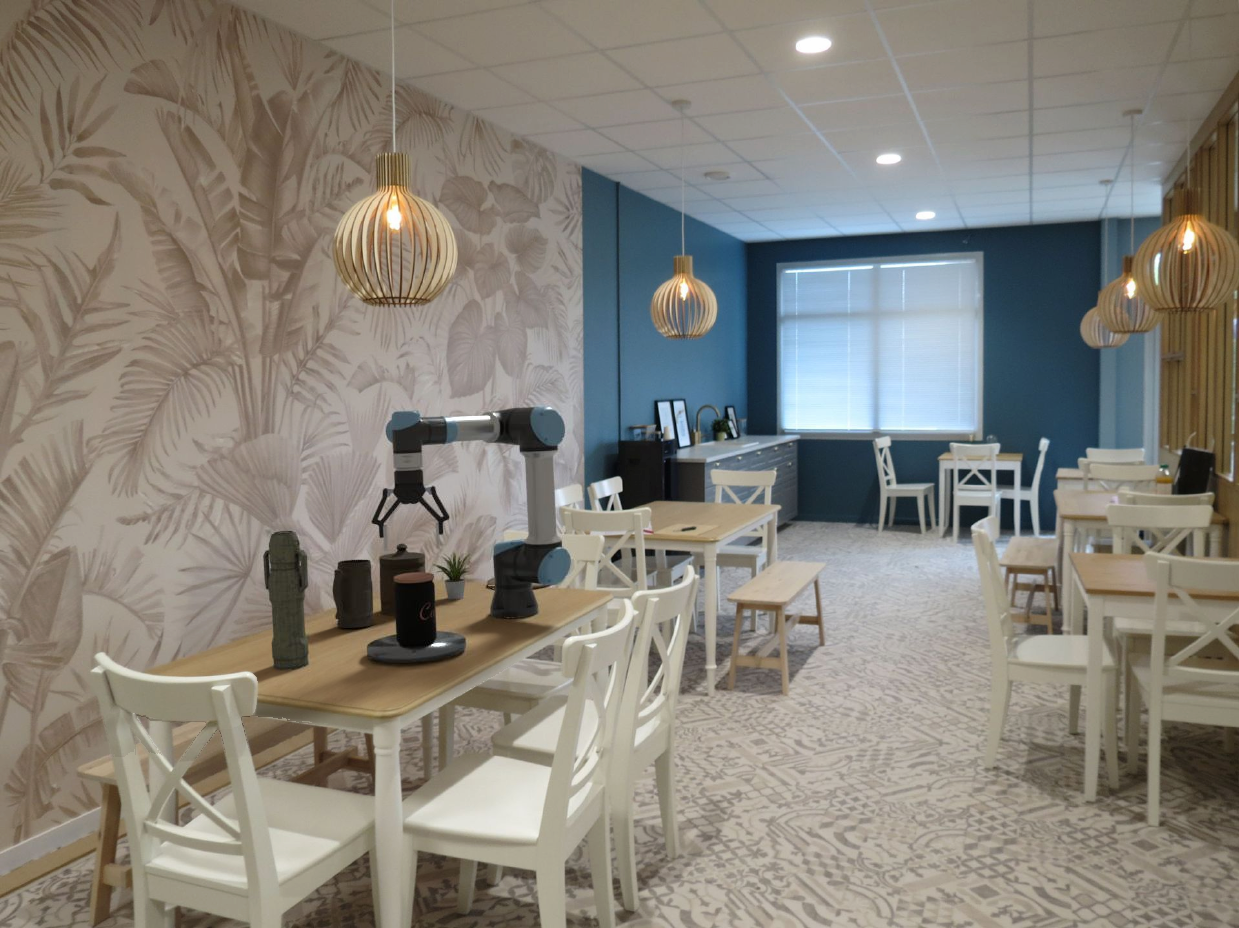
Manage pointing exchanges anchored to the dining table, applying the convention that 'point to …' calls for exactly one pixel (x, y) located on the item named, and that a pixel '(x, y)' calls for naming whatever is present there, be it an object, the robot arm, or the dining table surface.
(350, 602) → the beer stein
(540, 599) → the dining table surface
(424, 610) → the coffee jar
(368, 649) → the disc
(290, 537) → the thermos
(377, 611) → the dining table surface
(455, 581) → the house plant
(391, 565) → the wooden container
